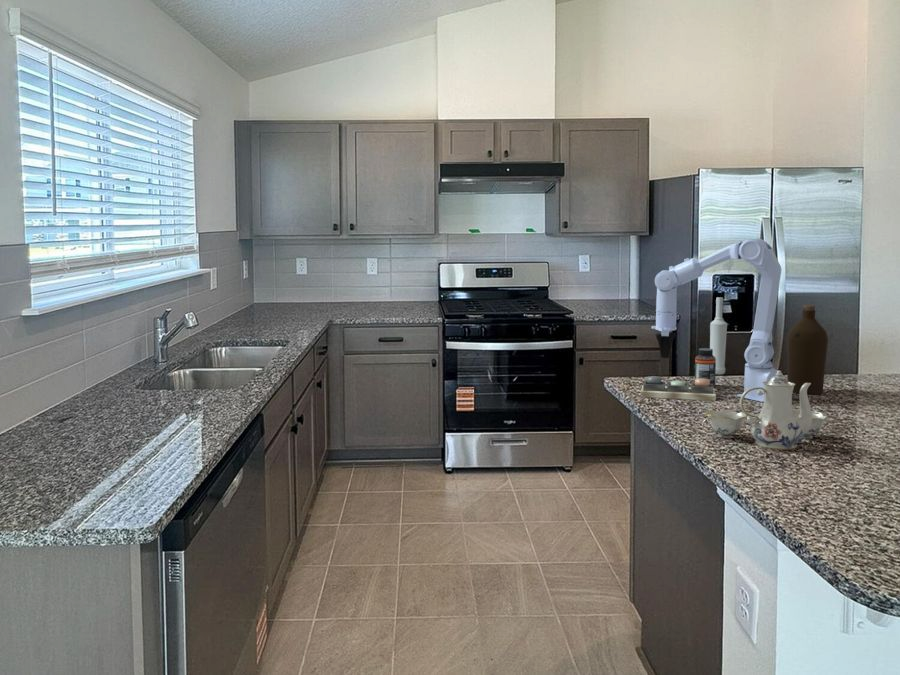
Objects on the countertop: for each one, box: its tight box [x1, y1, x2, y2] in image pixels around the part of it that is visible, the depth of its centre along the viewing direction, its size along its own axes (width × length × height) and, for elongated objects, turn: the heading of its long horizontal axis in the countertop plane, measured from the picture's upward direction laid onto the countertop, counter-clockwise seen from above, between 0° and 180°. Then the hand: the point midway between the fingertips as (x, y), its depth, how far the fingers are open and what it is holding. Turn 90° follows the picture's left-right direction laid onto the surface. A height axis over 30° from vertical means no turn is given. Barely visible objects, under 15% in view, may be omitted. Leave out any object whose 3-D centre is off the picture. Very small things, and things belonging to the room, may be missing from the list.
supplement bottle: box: [694, 347, 716, 388], centre depth 232 cm, size 6×6×11 cm
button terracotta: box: [694, 378, 710, 387], centre depth 217 cm, size 4×4×2 cm
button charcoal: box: [646, 375, 663, 385], centre depth 220 cm, size 4×4×2 cm
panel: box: [640, 380, 717, 402], centre depth 219 cm, size 20×10×3 cm, turn 73°
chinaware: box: [701, 370, 835, 450], centre depth 169 cm, size 28×17×17 cm, turn 92°
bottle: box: [709, 296, 728, 375], centre depth 253 cm, size 5×5×25 cm
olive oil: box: [786, 304, 829, 396], centre depth 221 cm, size 11×11×25 cm
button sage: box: [670, 380, 686, 386], centre depth 219 cm, size 4×4×2 cm
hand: (664, 357), depth 227 cm, fingers closed
